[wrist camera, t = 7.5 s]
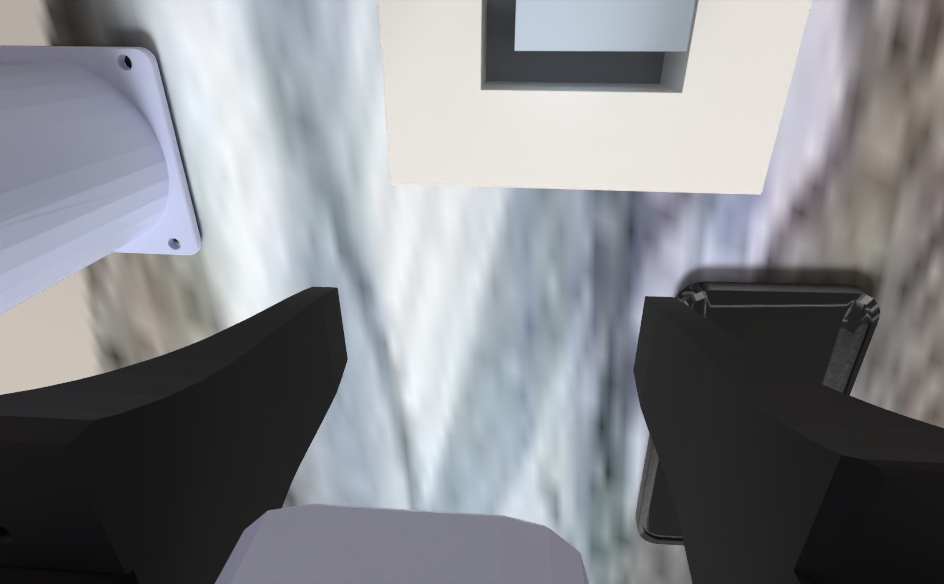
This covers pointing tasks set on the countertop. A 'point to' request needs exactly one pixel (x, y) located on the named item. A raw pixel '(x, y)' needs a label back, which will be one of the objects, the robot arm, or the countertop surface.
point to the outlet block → (585, 101)
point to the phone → (770, 356)
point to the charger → (603, 25)
